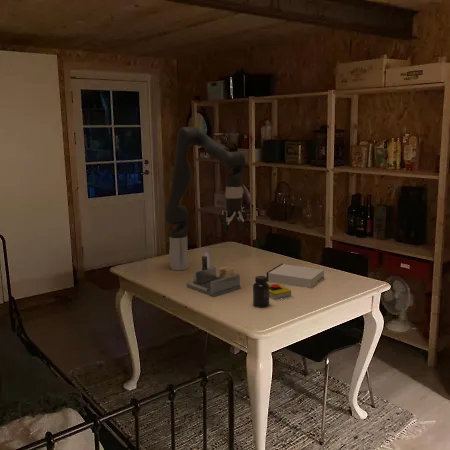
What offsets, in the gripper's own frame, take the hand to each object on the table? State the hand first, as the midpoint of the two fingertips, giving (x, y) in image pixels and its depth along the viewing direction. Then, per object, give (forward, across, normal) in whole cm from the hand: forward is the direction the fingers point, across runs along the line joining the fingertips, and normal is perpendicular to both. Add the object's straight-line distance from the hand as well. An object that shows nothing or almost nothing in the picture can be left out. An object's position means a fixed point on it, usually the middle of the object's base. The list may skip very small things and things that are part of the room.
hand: (234, 231), depth 234 cm
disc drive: (+27, -27, +14) cm, 41 cm away
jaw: (+25, +9, -11) cm, 28 cm away
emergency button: (+27, -5, +22) cm, 35 cm away
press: (+26, +9, -5) cm, 28 cm away
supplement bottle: (+26, +9, +26) cm, 38 cm away
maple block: (+26, -3, -9) cm, 28 cm away
